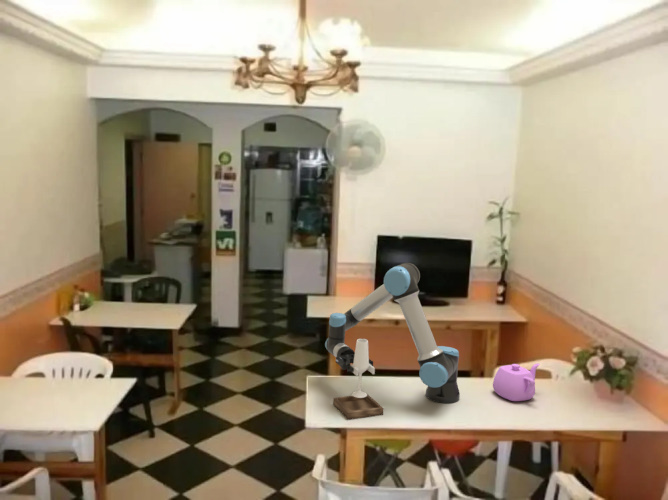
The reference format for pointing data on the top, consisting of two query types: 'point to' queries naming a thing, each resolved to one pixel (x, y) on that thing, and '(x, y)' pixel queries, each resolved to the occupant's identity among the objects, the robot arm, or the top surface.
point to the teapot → (515, 382)
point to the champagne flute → (361, 363)
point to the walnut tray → (357, 407)
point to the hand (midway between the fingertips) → (365, 372)
